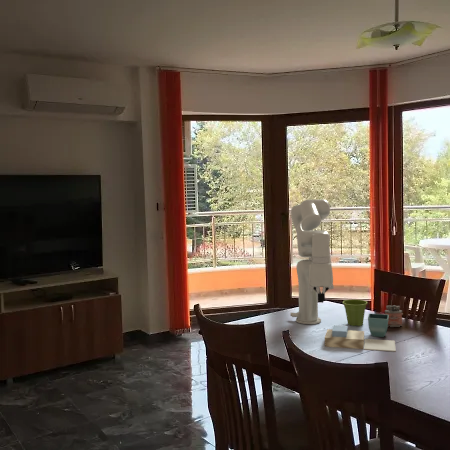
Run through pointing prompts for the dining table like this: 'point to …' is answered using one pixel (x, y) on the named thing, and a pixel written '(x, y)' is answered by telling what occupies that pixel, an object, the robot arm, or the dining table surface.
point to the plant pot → (355, 311)
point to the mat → (379, 345)
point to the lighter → (394, 316)
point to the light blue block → (339, 331)
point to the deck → (345, 340)
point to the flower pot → (378, 324)
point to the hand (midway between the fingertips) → (321, 301)
